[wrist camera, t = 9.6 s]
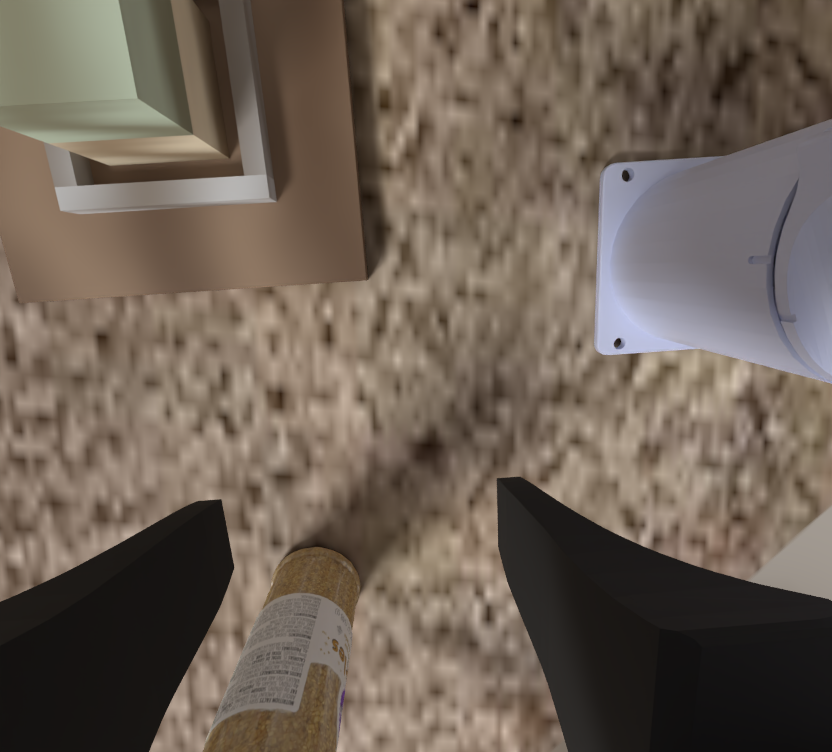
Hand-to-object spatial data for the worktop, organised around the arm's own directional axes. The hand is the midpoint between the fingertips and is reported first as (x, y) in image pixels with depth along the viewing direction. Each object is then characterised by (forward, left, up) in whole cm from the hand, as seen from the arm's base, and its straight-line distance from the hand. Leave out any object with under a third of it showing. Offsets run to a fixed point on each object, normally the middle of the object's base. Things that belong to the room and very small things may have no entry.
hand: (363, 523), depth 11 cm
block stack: (+7, -13, -8) cm, 17 cm away
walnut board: (+7, -13, -9) cm, 18 cm away
